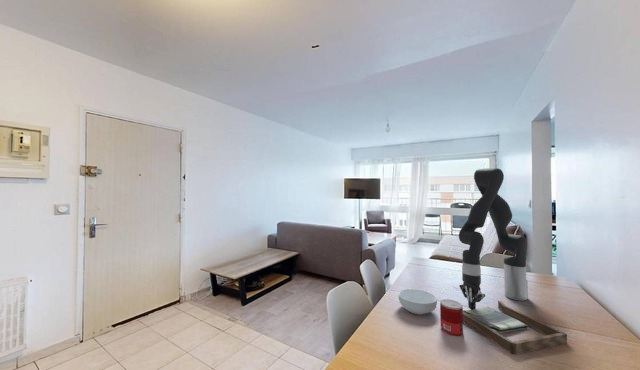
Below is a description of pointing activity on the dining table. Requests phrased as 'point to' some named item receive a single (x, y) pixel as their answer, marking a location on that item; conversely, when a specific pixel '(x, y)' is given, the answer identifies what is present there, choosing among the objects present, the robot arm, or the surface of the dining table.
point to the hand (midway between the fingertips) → (471, 309)
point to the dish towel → (496, 320)
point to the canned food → (451, 317)
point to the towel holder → (517, 347)
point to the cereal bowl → (417, 301)
